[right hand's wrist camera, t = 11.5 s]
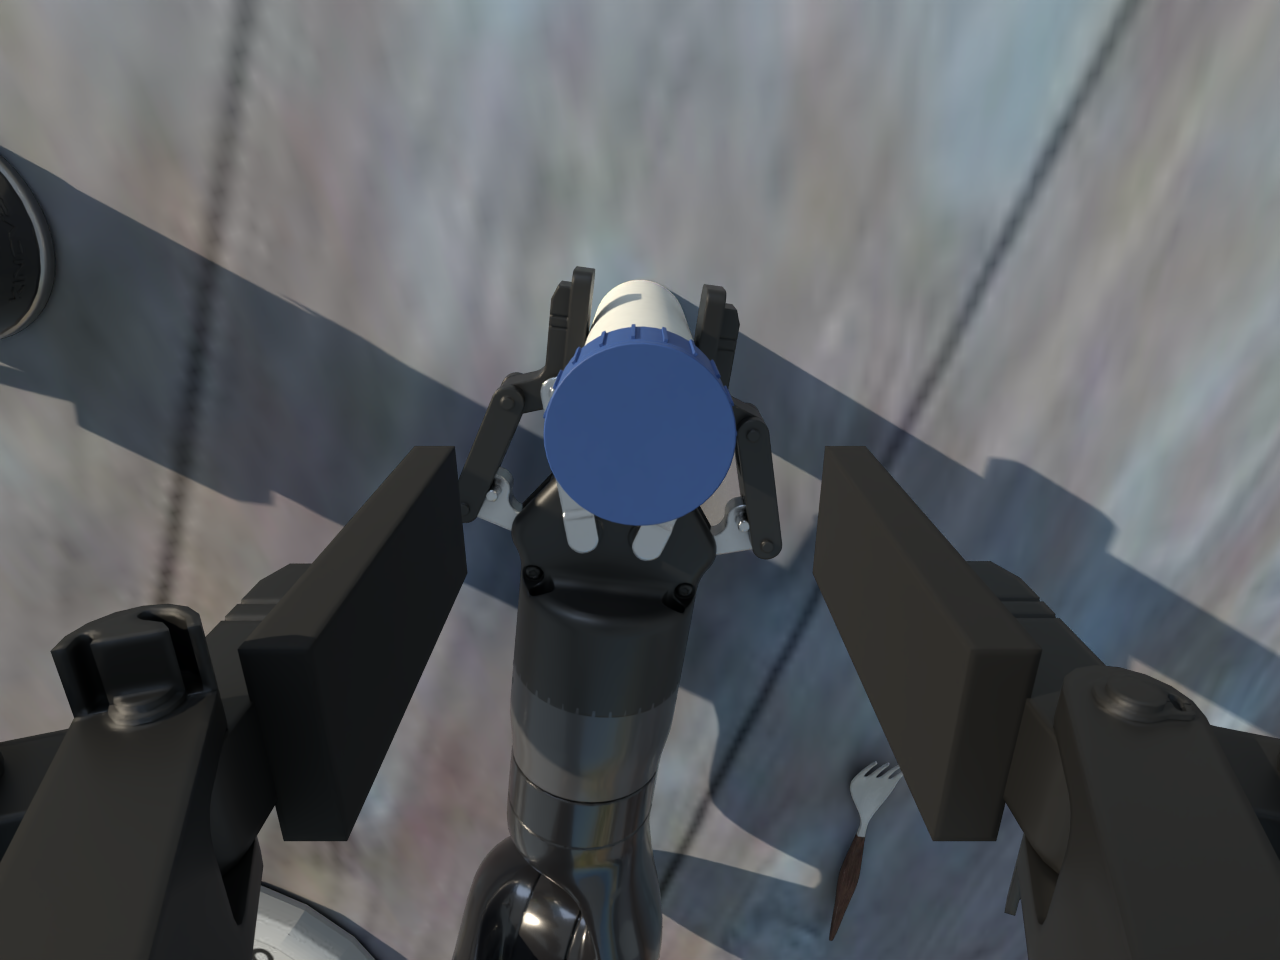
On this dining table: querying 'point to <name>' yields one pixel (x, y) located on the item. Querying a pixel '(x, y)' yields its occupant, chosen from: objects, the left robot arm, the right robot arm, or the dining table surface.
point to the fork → (860, 832)
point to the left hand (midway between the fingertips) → (648, 280)
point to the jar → (639, 310)
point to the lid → (639, 427)
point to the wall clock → (299, 932)
